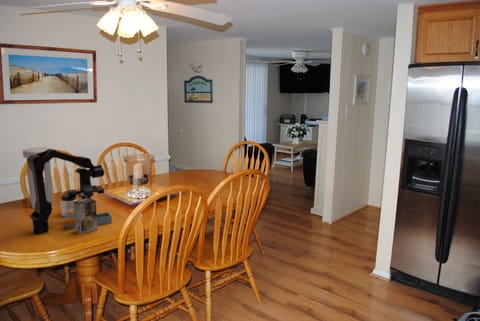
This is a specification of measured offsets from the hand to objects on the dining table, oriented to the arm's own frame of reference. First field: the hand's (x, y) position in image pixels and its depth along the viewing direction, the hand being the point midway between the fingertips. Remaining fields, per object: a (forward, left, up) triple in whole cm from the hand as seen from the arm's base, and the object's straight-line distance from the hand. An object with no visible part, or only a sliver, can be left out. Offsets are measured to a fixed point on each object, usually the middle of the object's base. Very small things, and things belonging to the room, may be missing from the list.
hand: (86, 206), depth 215 cm
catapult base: (-5, -9, -8) cm, 13 cm away
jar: (-6, +13, -8) cm, 17 cm away
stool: (-17, +42, -8) cm, 46 cm away
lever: (-5, -5, -1) cm, 7 cm away
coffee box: (-4, -16, -8) cm, 19 cm away
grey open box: (+6, -9, -8) cm, 13 cm away
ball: (-10, -9, +1) cm, 13 cm away
